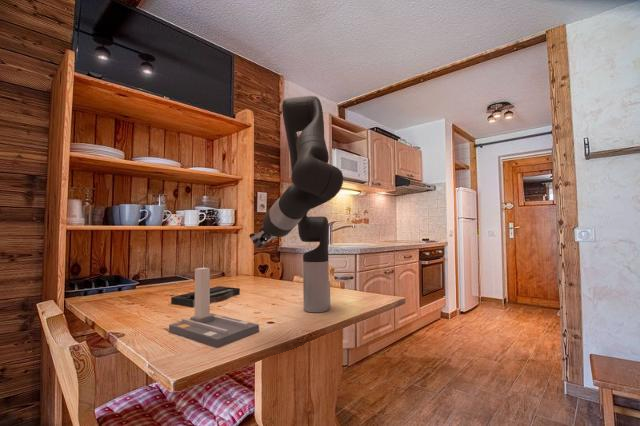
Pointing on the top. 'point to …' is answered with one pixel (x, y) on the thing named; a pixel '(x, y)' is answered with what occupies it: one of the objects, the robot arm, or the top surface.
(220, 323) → the switch panel
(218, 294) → the black rectangular tray
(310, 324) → the top surface
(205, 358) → the top surface
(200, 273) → the switch tab
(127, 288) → the top surface
